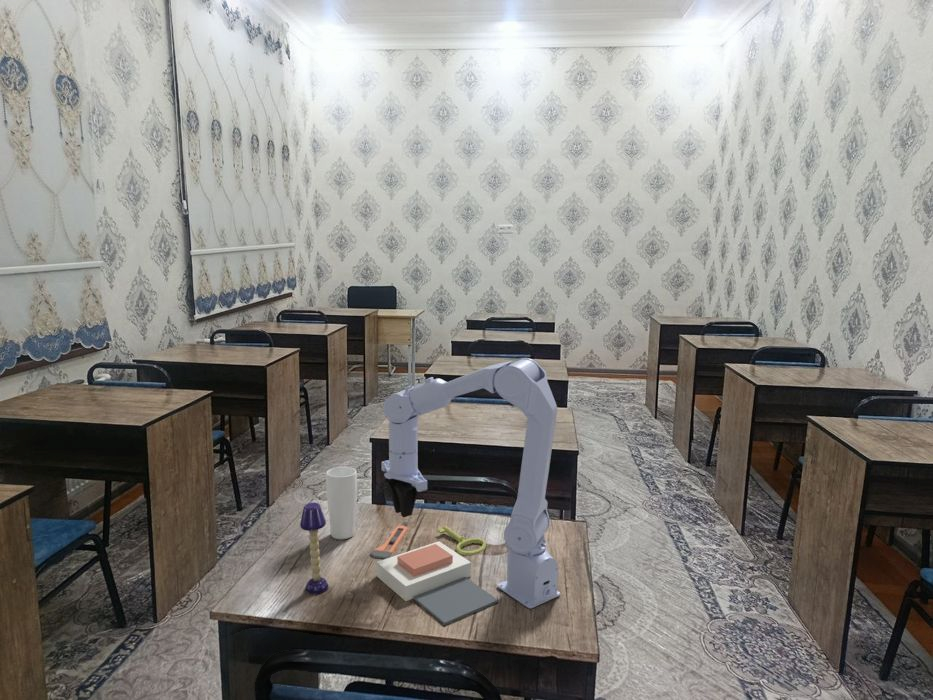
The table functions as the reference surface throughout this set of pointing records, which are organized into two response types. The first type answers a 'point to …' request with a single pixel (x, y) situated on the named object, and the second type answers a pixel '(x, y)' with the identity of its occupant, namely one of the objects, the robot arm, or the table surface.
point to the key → (463, 542)
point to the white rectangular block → (424, 582)
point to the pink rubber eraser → (424, 560)
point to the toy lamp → (314, 545)
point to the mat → (455, 600)
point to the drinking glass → (341, 501)
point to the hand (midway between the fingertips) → (403, 513)
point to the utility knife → (394, 538)
